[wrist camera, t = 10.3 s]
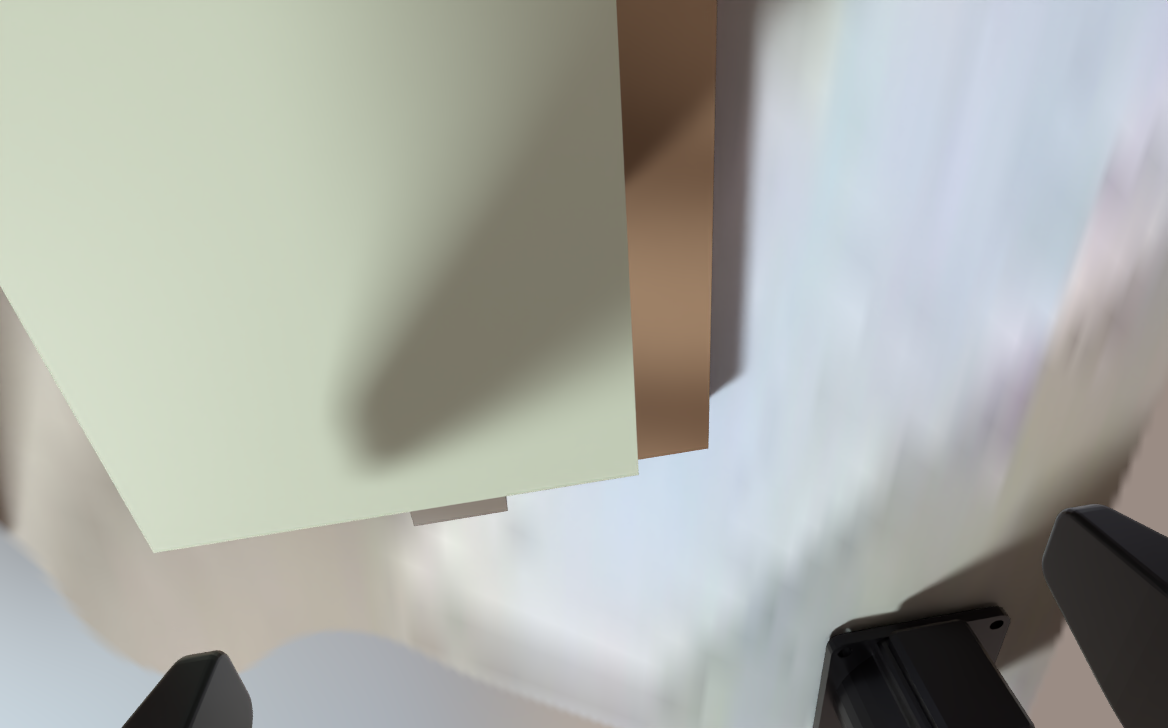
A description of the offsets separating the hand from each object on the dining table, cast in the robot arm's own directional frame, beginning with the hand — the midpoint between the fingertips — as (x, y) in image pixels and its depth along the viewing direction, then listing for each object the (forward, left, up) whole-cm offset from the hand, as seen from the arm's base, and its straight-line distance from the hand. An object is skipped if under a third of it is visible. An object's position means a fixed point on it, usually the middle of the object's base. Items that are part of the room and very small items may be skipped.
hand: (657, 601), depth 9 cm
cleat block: (+4, +3, -9) cm, 10 cm away
